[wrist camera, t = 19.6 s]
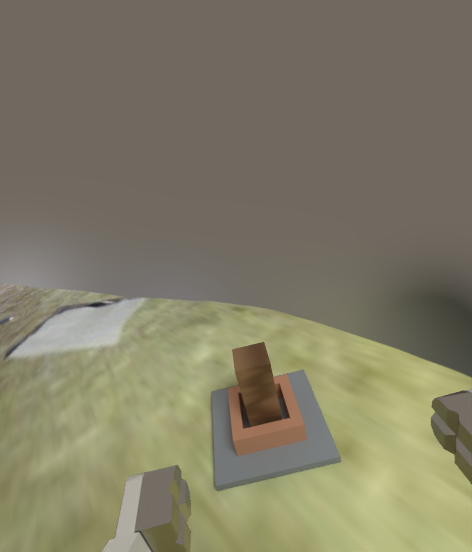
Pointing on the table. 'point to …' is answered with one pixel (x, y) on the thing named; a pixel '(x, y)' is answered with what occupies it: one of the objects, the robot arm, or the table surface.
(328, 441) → the housing
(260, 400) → the wooden post
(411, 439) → the table surface
